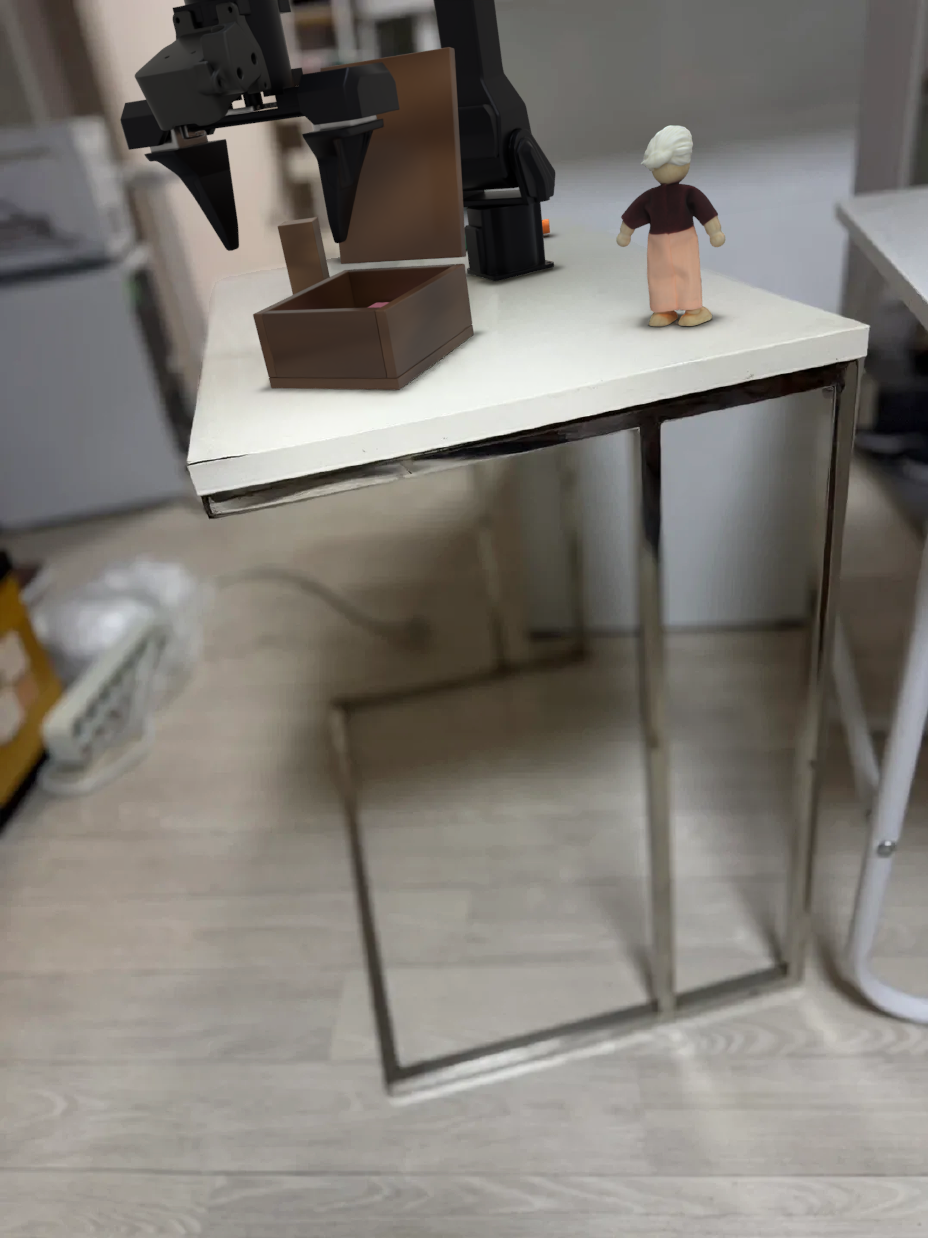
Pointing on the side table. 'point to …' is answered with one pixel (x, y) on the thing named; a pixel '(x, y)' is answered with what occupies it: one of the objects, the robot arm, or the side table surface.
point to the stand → (303, 253)
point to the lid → (411, 168)
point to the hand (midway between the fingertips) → (285, 246)
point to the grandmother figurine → (672, 230)
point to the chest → (366, 328)
